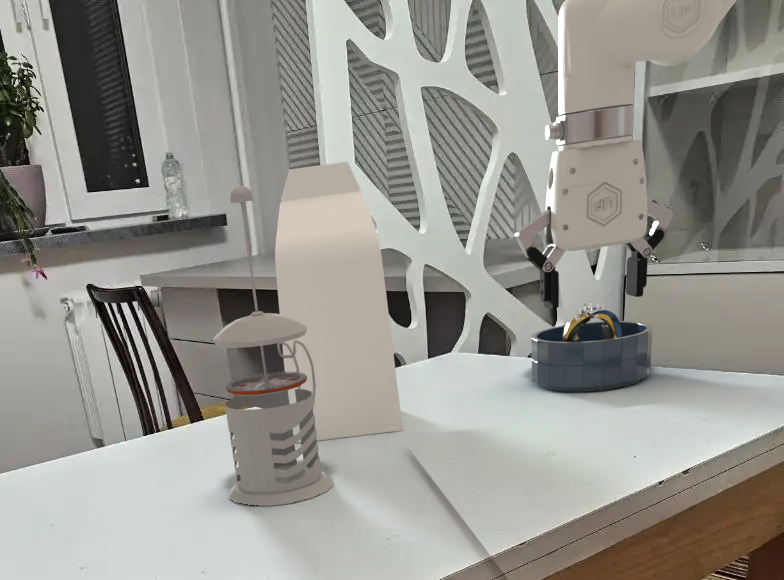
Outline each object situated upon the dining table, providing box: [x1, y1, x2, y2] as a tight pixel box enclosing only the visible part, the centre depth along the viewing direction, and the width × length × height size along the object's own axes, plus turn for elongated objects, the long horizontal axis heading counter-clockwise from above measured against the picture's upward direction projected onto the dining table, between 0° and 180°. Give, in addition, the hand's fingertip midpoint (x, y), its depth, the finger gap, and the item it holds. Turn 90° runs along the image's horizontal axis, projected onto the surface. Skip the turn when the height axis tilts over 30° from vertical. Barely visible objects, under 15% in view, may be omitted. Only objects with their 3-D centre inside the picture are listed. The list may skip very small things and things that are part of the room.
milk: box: [274, 161, 404, 444], centre depth 96 cm, size 12×12×26 cm
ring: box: [562, 302, 622, 342], centre depth 105 cm, size 7×3×8 cm, turn 96°
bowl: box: [531, 320, 653, 393], centre depth 106 cm, size 13×13×6 cm
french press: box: [212, 185, 334, 507], centre depth 78 cm, size 10×12×25 cm
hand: (592, 301), depth 103 cm, fingers open, 9 cm apart
